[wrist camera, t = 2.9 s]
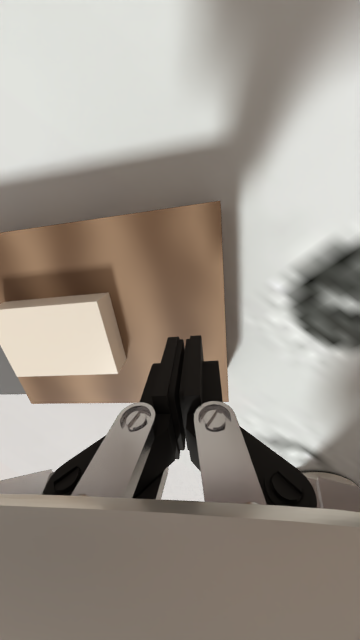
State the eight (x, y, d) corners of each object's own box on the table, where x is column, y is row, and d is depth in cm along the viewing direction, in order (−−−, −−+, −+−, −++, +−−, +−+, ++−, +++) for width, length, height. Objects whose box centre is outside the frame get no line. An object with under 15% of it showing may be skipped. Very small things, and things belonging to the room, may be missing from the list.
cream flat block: (108, 292, 16) (96, 301, 14) (126, 359, 19) (117, 373, 17) (5, 301, 18) (-18, 311, 16) (34, 362, 20) (17, 376, 18)
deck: (217, 204, 17) (220, 200, 13) (225, 373, 23) (228, 401, 19) (-7, 236, 20) (-55, 240, 16) (55, 378, 26) (31, 403, 22)
